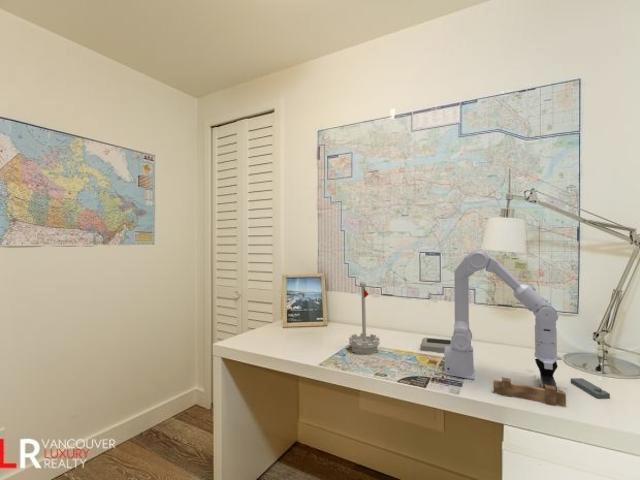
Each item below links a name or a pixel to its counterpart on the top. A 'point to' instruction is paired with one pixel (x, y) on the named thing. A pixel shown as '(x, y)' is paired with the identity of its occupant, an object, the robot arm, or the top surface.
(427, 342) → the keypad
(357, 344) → the flag stand
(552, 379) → the block
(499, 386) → the brown wooden bar
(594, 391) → the bracket
